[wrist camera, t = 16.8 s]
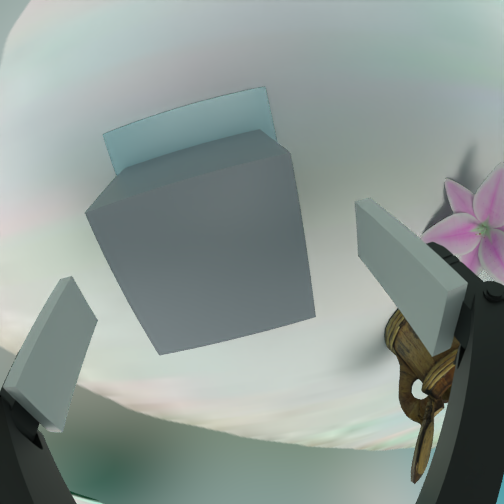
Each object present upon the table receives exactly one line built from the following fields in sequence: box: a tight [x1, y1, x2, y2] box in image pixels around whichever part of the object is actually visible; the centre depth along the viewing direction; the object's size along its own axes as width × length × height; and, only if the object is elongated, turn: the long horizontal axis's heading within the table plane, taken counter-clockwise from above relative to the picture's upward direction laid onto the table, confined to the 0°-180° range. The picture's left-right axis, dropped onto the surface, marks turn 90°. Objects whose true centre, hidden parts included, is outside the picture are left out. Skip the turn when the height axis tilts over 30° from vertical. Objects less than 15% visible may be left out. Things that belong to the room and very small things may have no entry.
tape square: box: [103, 87, 277, 175], centre depth 23 cm, size 12×12×1 cm
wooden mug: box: [385, 309, 460, 484], centre depth 27 cm, size 9×14×18 cm, turn 127°
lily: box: [420, 162, 504, 285], centre depth 25 cm, size 12×12×10 cm
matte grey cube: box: [85, 129, 316, 355], centre depth 20 cm, size 10×10×9 cm
